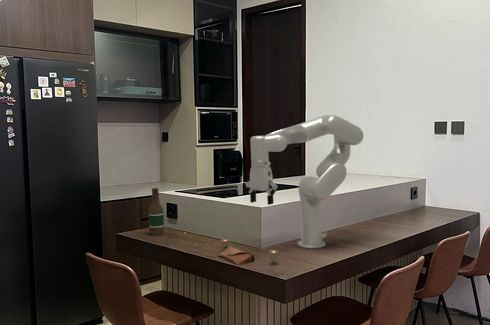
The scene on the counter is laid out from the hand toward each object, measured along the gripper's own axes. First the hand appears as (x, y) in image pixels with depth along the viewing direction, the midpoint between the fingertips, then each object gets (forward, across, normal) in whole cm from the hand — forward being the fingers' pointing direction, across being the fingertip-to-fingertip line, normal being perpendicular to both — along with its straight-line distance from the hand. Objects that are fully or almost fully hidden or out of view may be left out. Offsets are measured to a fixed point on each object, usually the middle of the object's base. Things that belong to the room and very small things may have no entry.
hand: (261, 203), depth 209 cm
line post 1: (+21, +14, +10) cm, 27 cm away
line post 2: (+22, -14, +11) cm, 28 cm away
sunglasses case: (+22, +3, +16) cm, 27 cm away
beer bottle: (+21, +64, +9) cm, 68 cm away
